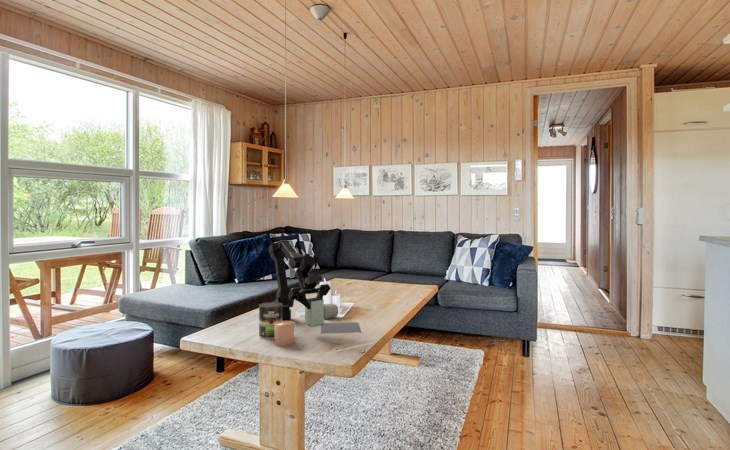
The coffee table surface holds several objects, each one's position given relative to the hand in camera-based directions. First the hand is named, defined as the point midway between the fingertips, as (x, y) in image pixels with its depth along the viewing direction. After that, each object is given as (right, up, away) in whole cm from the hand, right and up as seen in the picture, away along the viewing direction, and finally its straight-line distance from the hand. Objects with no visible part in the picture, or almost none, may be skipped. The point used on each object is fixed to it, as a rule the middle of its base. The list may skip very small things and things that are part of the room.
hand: (315, 307), depth 177 cm
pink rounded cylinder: (-12, -14, -8) cm, 20 cm away
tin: (-1, -8, +1) cm, 8 cm away
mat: (+10, -13, +15) cm, 22 cm away
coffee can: (-20, -13, +3) cm, 25 cm away
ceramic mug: (+2, -12, +34) cm, 36 cm away
